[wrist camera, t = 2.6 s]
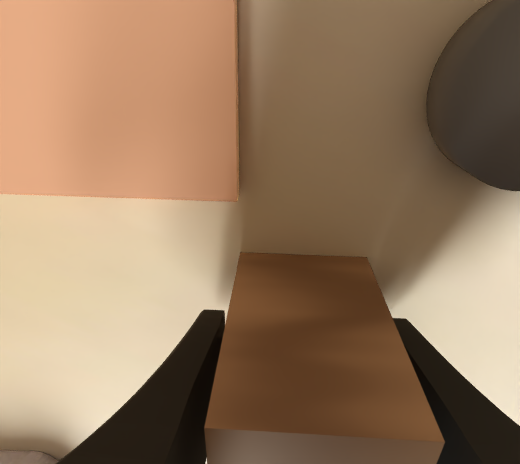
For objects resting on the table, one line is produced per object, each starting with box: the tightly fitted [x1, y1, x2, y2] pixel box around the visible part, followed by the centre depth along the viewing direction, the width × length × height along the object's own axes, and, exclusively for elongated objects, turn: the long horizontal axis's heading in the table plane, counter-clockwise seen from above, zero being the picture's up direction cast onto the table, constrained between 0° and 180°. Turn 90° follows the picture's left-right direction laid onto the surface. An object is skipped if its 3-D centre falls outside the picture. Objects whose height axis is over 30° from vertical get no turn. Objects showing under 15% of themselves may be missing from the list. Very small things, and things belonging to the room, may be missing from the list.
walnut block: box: [204, 252, 445, 464], centre depth 10 cm, size 4×4×6 cm
